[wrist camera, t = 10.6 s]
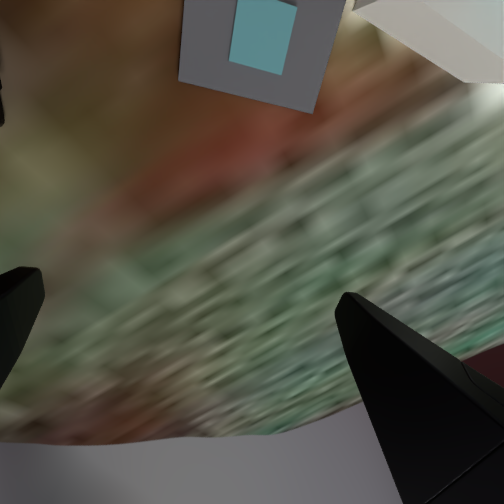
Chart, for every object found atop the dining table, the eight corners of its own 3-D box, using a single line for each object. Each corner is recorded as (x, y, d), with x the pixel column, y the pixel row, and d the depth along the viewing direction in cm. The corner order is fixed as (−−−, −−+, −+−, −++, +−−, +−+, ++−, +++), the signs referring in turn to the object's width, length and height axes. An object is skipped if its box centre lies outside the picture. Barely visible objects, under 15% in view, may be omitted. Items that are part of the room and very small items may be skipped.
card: (178, 80, 16) (178, 80, 15) (190, -71, 13) (190, -78, 12) (310, 113, 18) (313, 114, 17) (346, -12, 15) (352, -15, 14)
